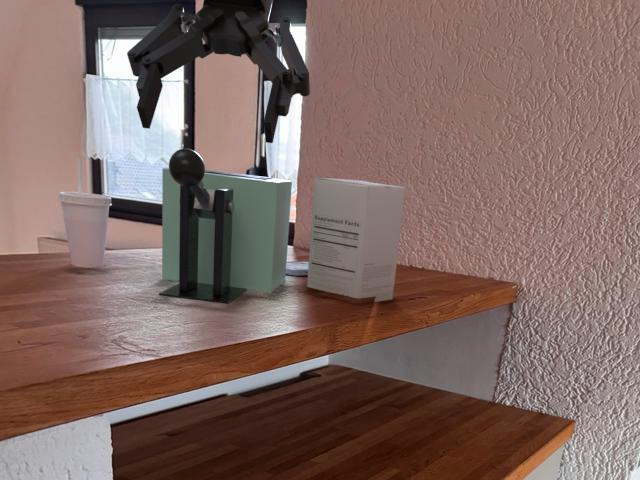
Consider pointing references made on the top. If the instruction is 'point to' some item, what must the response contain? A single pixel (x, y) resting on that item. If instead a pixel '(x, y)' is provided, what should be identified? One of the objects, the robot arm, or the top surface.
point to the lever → (193, 180)
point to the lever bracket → (189, 251)
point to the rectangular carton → (355, 238)
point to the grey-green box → (234, 230)
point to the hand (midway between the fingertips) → (205, 125)
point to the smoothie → (85, 224)
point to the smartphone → (297, 268)
